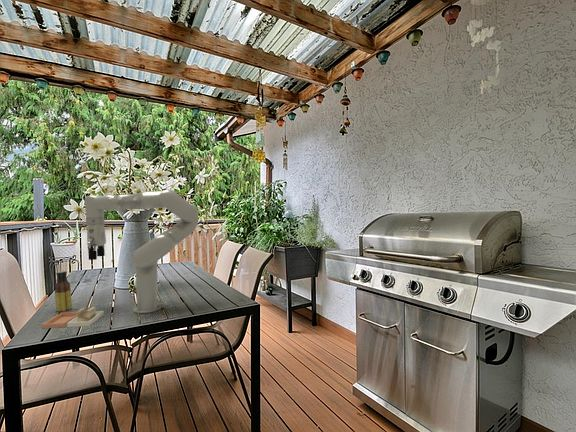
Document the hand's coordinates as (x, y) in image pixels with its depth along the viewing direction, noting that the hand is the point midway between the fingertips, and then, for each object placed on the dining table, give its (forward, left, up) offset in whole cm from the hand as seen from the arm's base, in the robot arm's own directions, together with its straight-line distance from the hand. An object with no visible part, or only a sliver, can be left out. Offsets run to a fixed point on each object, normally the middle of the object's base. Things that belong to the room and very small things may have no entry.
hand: (97, 257), depth 149 cm
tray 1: (+10, +12, -27) cm, 30 cm away
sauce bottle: (+18, -4, -27) cm, 32 cm away
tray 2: (0, +12, -27) cm, 29 cm away
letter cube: (0, +11, -26) cm, 28 cm away
